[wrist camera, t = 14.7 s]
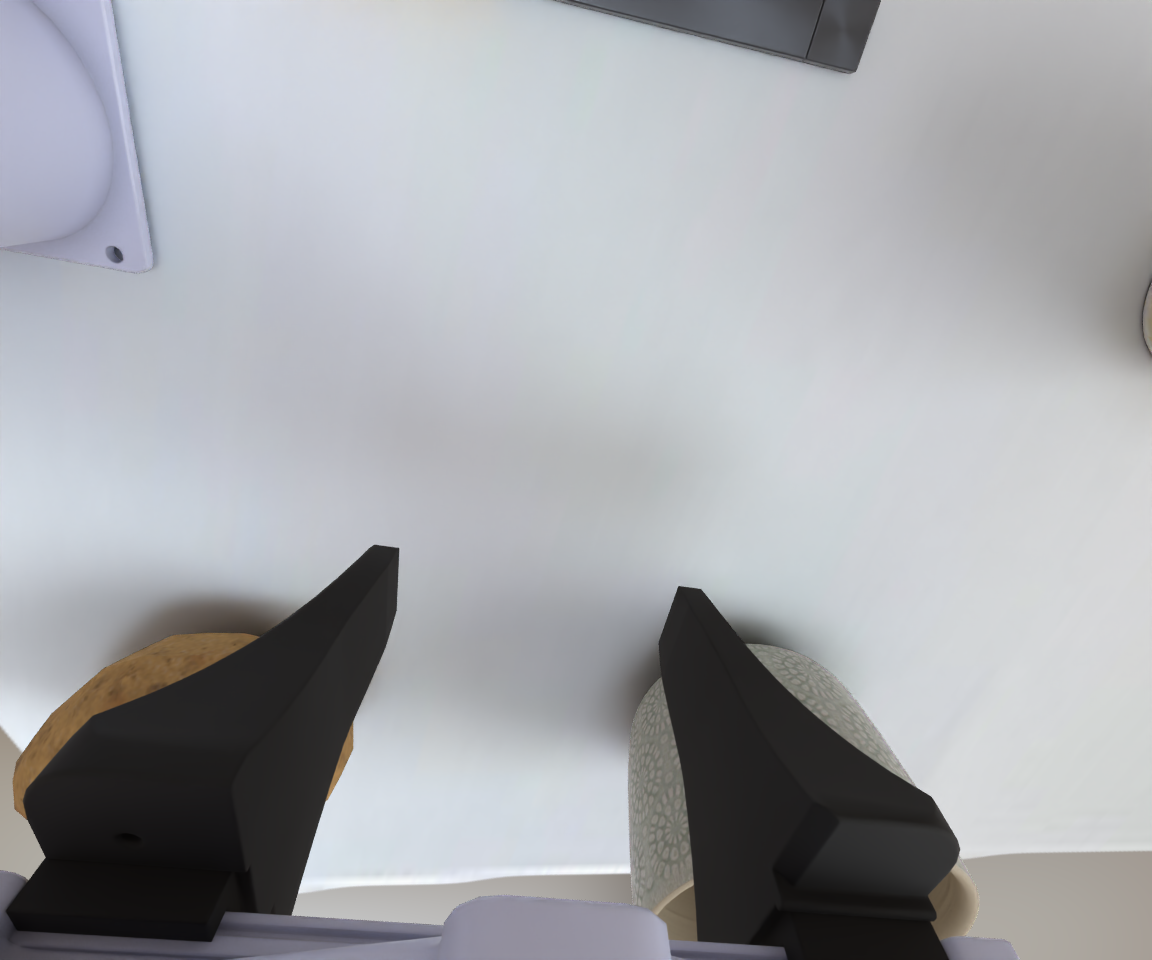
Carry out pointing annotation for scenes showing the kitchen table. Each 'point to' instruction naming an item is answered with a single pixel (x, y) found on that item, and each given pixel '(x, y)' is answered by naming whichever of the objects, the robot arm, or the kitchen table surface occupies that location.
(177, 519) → the kitchen table surface
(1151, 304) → the coffee cup
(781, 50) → the knife
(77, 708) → the potato
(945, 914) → the planter
